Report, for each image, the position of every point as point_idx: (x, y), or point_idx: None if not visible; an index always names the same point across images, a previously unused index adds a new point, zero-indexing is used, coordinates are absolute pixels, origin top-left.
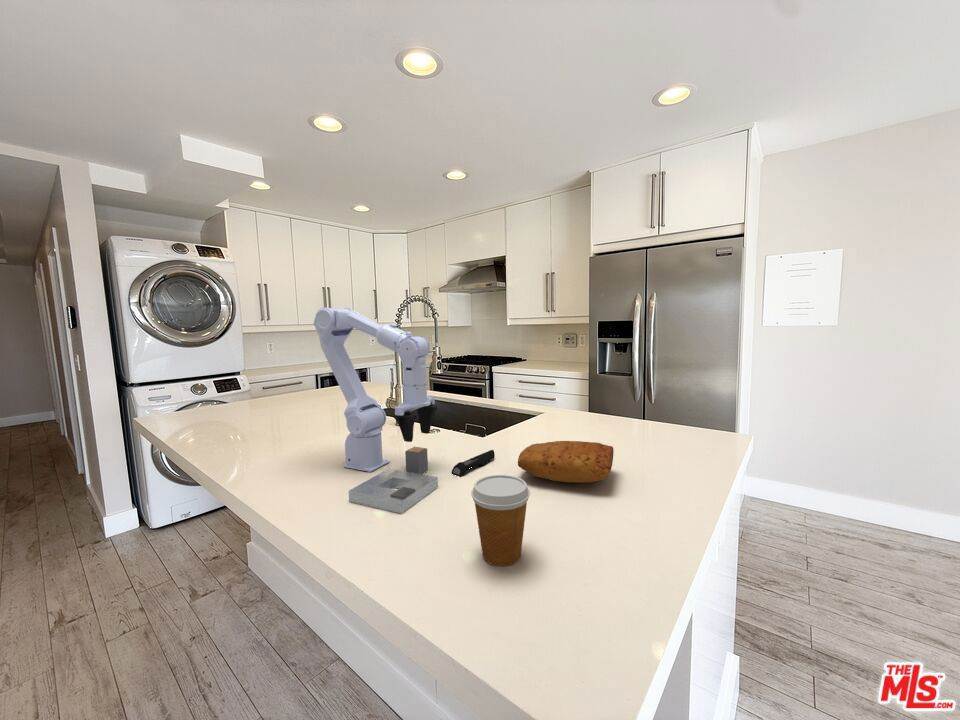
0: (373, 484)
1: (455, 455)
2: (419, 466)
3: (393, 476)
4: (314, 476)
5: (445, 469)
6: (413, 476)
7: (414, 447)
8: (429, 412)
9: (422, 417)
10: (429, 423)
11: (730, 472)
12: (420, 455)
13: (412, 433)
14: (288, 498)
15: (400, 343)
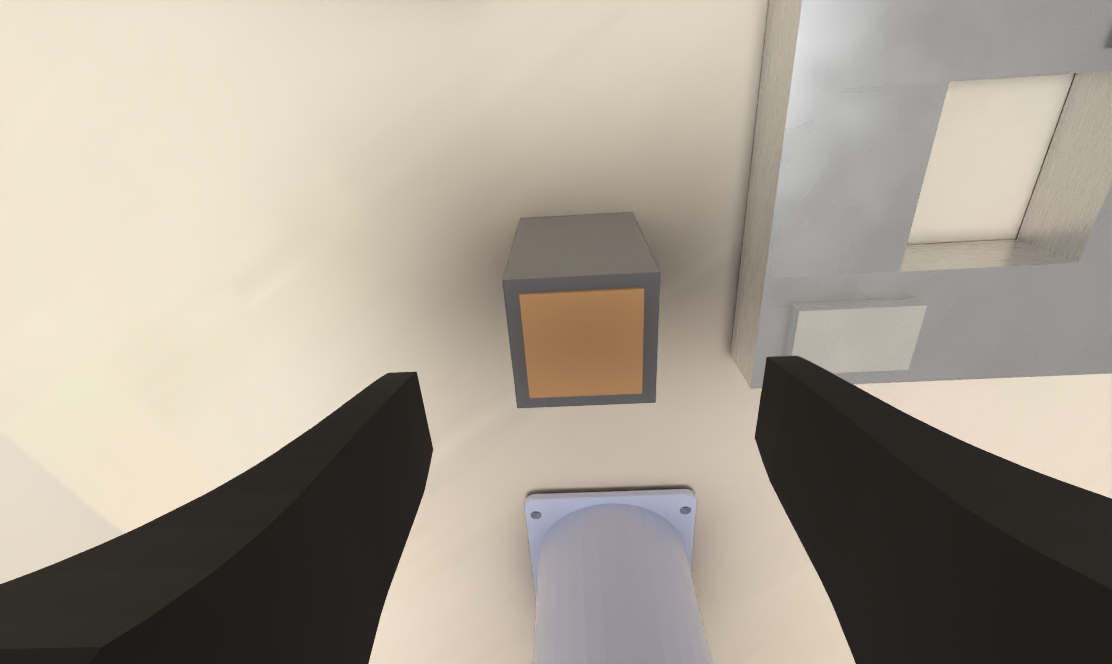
0: (1044, 303)
1: (159, 213)
2: (631, 232)
3: (881, 276)
4: (813, 637)
5: (434, 107)
6: (852, 134)
7: (545, 389)
8: (239, 622)
9: (351, 618)
10: (353, 440)
11: None
12: (619, 262)
13: (844, 398)
14: None
15: None
